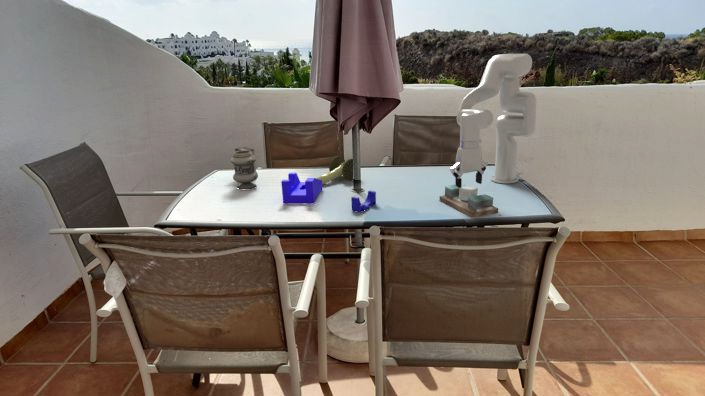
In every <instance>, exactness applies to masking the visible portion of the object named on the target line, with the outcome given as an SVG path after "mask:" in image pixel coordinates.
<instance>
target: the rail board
mask: <svg viewBox="0 0 705 396" xmlns="http://www.w3.org/2000/svg"><path fill="white" fill-rule="evenodd" d="M465 186H466V185H465V184H463V183H462V186H461V188H462V187H465ZM439 201H440V202H441V203H443V204H445V205H447V206H448V207H451V208H453V209H455V210H457V211H459V212H460V213H462V214H463V215H465V216H467V217H470V218H471V219H473V218H478V217H484V216H489V215H495V214H496V215H497V214H498V213H499V208H498V207H496V206H494V197H492V196H490V195H489V194H479V195H478V194H477V196H471V197H468V201H465V200H459V187H457V186H456V184H452V185H445V186H444V194H443V195H439Z"/></svg>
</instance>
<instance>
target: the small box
mask: <svg viewBox="0 0 705 396" xmlns="http://www.w3.org/2000/svg"><path fill="white" fill-rule="evenodd" d="M478 190H479V188H478V187H474V186H467V185H465V187H462V188H459V200H465V201H468V197H471V196H478V194H479V192H478Z"/></svg>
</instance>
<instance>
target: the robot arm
mask: <svg viewBox="0 0 705 396" xmlns="http://www.w3.org/2000/svg"><path fill="white" fill-rule="evenodd" d="M532 67H533V59H532V56H531V54H528V53H502V54H495V55H493V56H492V57H491V58H490V59H489V60H488V61H487V63H486V66H485V68H484V71H483V74H482V77H481V79H480V82H479V84H478V86H477V87H475V88H474V89H472V91H470V92H469V93H468V94H467V95H466V96H465V97H463V99H462V101H461V102H460V105H459V108H458V111H457V115H456V122H457V124H458V126H459V127H460V128H459V129H460V130H459V147H458V148H457V150H456V151H457V152H456V157H455V164H454V165H453V166H451V167H450V168H449V171H450V173H451V175H452V176H454V178H455V184H454V185H456V186H457V187H459V188H461V186H462V184H463V183H462V176H463V174H468V173H474V172H476V173H475V183H477V184H480V185H481V184H482V183H483V181H482V180H483V175H484V172H485V171H486V169H487V166H488V164H489V162H487V161H485V160H483V158H482V157H483V155H482V148H481V146H480V144H482V139H481V138H480V135H481V132H480V131H481V130H483V129H488V128H489V127H490V126H492V125H493V122H494V113H493V112H492V111H491V110H489V109H483V108H482V109H480V108H473V107H474V106H475V105H476V104H479V103H481V102H484V101H487V100H490V99H492V98H495V96H497V95H498V94H499V96H498V97H499V98H498V99H499V102H498V103H499V109H500V111H501V112H503V113H504V112H505V113H512V114H502V115H499V116H498V117H497V118H496V120H495V135H496V145H495V147H496V148H495V162H494V163H495V164H494V175H492V176H491V177H490V180H491V181H492V182H493V183H496V184H497V183H498V184H507V185H508V184H516V183H518V181H519V178H518V176H523V175H524V170H519V171H518V170H516V169H517V157H518V156H517V155H518V142H517V140H516V138H515V137H531V136H533V134H534V132H535V130H536V129H535V128H536V117H537V116H536V114H537V97H536V95H535V94H534V93H533V92H532V91H521V90H520V77H523V76H525V75H527V74H529V72H530V71H531V68H532ZM513 113H514V114H513ZM515 113H516V114H515ZM517 114H518V115H517ZM519 114H522V115H519Z"/></svg>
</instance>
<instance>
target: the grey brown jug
mask: <svg viewBox="0 0 705 396" xmlns="http://www.w3.org/2000/svg"><path fill="white" fill-rule="evenodd" d="M234 150H235V151H234V152H236V151H241V150H250V151H251V152H252V155H254V156H255V155H256V154H255V149H254V148H251V147H247V146H244V147H243V146H242V147H237V148H235V149H234ZM255 157H256V156H255ZM254 169H255V171H256V172H257V168H256V161H255V162H254Z"/></svg>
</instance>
